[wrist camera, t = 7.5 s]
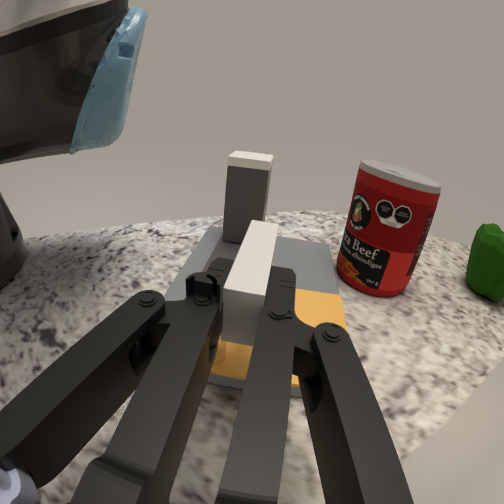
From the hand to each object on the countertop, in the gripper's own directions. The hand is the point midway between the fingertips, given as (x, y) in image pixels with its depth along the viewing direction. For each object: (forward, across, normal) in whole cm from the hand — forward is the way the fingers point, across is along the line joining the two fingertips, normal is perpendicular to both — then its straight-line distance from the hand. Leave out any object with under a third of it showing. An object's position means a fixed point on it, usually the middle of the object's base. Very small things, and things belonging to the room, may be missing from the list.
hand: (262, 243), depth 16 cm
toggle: (+11, -3, -5) cm, 13 cm away
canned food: (+10, +11, -7) cm, 16 cm away
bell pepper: (+11, +28, -7) cm, 31 cm away
